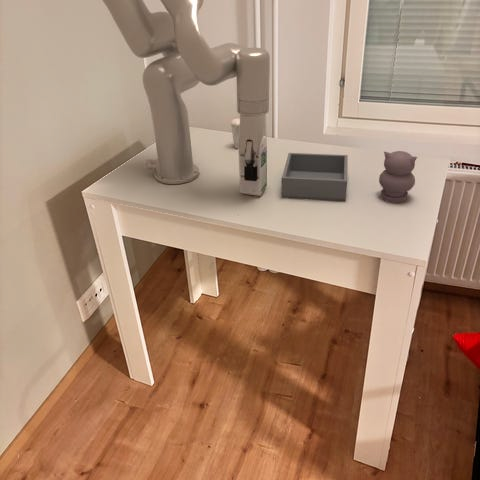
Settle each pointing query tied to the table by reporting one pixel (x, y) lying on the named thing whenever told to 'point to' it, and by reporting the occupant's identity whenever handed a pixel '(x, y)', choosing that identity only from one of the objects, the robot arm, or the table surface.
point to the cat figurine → (397, 176)
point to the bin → (315, 177)
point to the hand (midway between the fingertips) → (253, 173)
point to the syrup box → (261, 164)
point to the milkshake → (235, 131)
